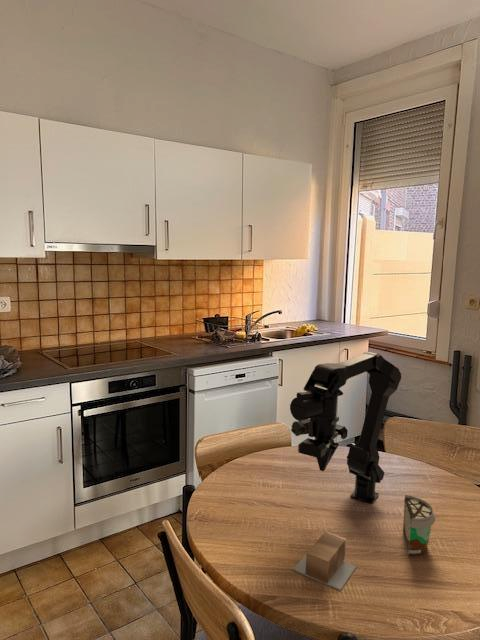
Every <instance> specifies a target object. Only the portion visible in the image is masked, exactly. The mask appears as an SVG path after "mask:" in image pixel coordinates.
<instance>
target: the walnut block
mask: <svg viewBox="0 0 480 640" xmlns="http://www.w3.org/2000/svg"><path fill="white" fill-rule="evenodd" d="M346 541H347V539H346V538H344V537H341V536H339V535H336V534H334V533H331V532H328V531H324V532H323V533H322V535H321V536H320V537H319V539H317V541H316V542H315V543H314V544H313V545H312V546H311V547H310V548H309V549H308V551H306V554H305V555H306V575H308V576H311V577H313V578H315V579H318V580H320V581H322V582H324V583H328V581H329V580H330V579H331V577H332V576H333V575H334V573H335V572H336V571H337V569H338V568H339V566H340V565H341V564H342V562H343V561H344V562H345V560H346V559H345V558H346V547H347V546H346V544H347V543H346ZM306 575H305V576H306ZM308 576H307V577H308ZM315 579H314V580H315ZM322 582H321V583H322ZM324 583H323V584H324Z"/></svg>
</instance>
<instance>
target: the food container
mask: <svg viewBox="0 0 480 640" xmlns="http://www.w3.org/2000/svg"><path fill="white" fill-rule="evenodd" d="M403 501H404V504H403V505H404V508H403V523H402V524H403V525H402V536H403V540H404V545H405V549H406V554H407V556H408V557H412V558H413V557H421V556H423V555H425V554H426V553H427V552H428V546H429V540H430V534H431V530H432V529H431V528H432V526H433V525H434V524H435V522H436V517H435V511H434V508H433V507H432V505H431V504H430V503H428V502H427V501H426V500H424V499H421V498H419V497H416V496H413V495H408V494H404V500H403Z"/></svg>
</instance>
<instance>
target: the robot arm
mask: <svg viewBox="0 0 480 640" xmlns="http://www.w3.org/2000/svg"><path fill="white" fill-rule="evenodd" d="M365 372H366V373H367V374H368V384H369V388H370V391H371V394H370V398H369V400H368V406H367V409H366V411H365V412H366V413H365V417H364V420H363V424H362V429H361V432H360V434H359V435H360V437H359V440H358V441H357V442H356V443H355V444H354V445H353V444H351V445H350V446H349V448H348V449H349V450H348V454H347V456H346V465H347V467H348V473H349V474H353V475H355V483H354V490H353V491H352V493H351V494H350V495H349V496H350V498H352V499H355V500H359V501H361V502H365V503H367V504H373V503H374V502H375V501H376V499H377V498H378V496H379V492H376V484H377V483H378V484H381V481H382V480H384V477H385V472H384V471H385V470H383V469H382V468H381V466H380V465H379V464H380V463H379V462H380V454H379V450H378V447H377V445H378V442H379V437H380V434H381V429H382V425H383V421H384V417H385V413H386V410H387V406H388V402H389V399H390V397H391V396H392V395H393V394H394V393H396V391H397V390H398V387H399V386H400V385H399V384H400V382H401V380H402V373H401V371H400V369H399V368H398V367H396V366H395V365H394V364H392V362H390V361H388V360H387V359H385V357H383V355H381V354H379V353H376V352H371V351H366V352H363V353H362V354H361V355H357V356H355V357H352V358H349V359H346V360H344V361H341V362H337V363H334V362H333V363H332V362H331V363H328V362H327V363H319V364H317V365H315V367H314V369H313V370H312V372H311V374H310V375H309V378H308V380H307V381H306V383H305V385H304V387H303V392H302V391H299V392H296V397H294V398H293V399H292V400H291V402H290V403H289V409H290V413H291V416H292V417H293V419H295V420H294V421H293V422H292V424H291V428H290V431H291V433H292V434H293V435H294V436H295V437H299V436H301V435H302V436H304V435H308V437H307V438H306V439H304V440H303V441H301V442H300V443H298V446H297V447H298V448H297V452H298V453H299V454H302V455H304V456H305V455H306V456H308V457H309V456H310V457H313V458H316V461H317V465H318V467H319V471H321V472H325V470H326V469H327V466H329V463H330V461H331V459H332V457H333V456H334V454H335V452H336V450H337V449H338V447H339V446H340V444H339V442H335V439H336V438H337V437H338V436H340V438H341V440H346V438H347V437H348V434H349V432H348V431H349V430H348V429H347V428H346V426H344V425H341V424H337V422H339V421H340V417H339V416H337V415H338V414H337V413H338V397H340V396H343V395H344V392H343V391H342V390H341V388H342V387H343V386H345V385H346V384H347V381H348V380H349V379H351V378H354V377H356V376H359V375H361V374H363V373H365ZM309 437H310V438H309Z"/></svg>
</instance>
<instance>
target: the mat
mask: <svg viewBox="0 0 480 640" xmlns="http://www.w3.org/2000/svg"><path fill="white" fill-rule="evenodd" d="M356 569H357V566H356V565H354V564H351V563H348V562H346V561H345V560H344V561H343V562H342V564H341V565H340V566H339V568H338V569H337V571H336V572H335V573H334V575H333V576H332V577H331V579H330V580H329V581H328V583H324V582H322V581H320V580H318V579H315V578H313V577H311V576H308V575H306V554H305V555H304V556H303V557H302V559H300V560H299V562H298V563H297V564H296V565H295V566H294V567H293V571H294V572H297V573H299V574H301V575H303V576H306V577H308V578H310V579H311V580H315V581H317V582H319V583H322V584H324V585H327V586H329V587H331V588H334V589H336V590H338V591H342V590H343V587H344V586H345V585H346V584H347V582H348V580H349V579H350V578H351V576H352V575H353V573H354V571H355V570H356Z"/></svg>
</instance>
